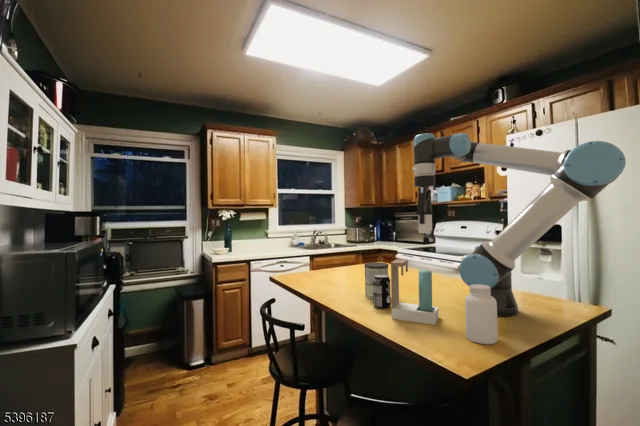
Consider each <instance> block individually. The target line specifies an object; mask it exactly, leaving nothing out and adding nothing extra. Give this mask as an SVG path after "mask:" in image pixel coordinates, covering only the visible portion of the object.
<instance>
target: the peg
mask: <svg viewBox="0 0 640 426" xmlns="http://www.w3.org/2000/svg"><path fill="white" fill-rule="evenodd" d="M432 273H433V271H432V270H427V269H421V270H418V305H419V311H425V312H432V306H433V274H432Z"/></svg>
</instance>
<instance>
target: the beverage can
mask: <svg viewBox="0 0 640 426" xmlns="http://www.w3.org/2000/svg"><path fill="white" fill-rule="evenodd" d="M372 302H373V306H374V307H375V308H377V309H380V310H381V309H389V308H390V307H391V306H392V297H391V277H390V274H388V275H386V274H376V275H374V278H373V299H372Z"/></svg>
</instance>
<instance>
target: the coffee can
mask: <svg viewBox="0 0 640 426" xmlns="http://www.w3.org/2000/svg"><path fill="white" fill-rule="evenodd" d="M376 274H386V275H389V263H387V262H378V261H376V262H374V261H373V262H366V263H364V288H365V295H364V296H365V298H367V299H371V300H373V278H374V275H376Z"/></svg>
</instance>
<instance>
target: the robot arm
mask: <svg viewBox="0 0 640 426" xmlns="http://www.w3.org/2000/svg"><path fill="white" fill-rule="evenodd" d="M412 149H413V167H412V171H413V174H414V178H413V179H414V180H413V181H414V187H417V190H418V191H417V193H418V195H417V208H416V211H415V215H416V216H418V217H417V220H418V222H417V223H418V224H417V225H418V227H417V228H418V234H428V232H433V215H434V214H435V212H434V211H433V203H432V190H431V189H430V187H434V186H436V176H435V175H436V159H444V158H451V159H454V160H457V161H458V162H462V163H473V164H479V165H485V166H491V167H492V166H493V167H499V168H503V169H511V170H516V171H523V172H529V173H535V174H542V175H547V176H550V177H549V178H550V182H549V184H548V185H547V186H546V187H545V188H544V189H543V190H541V192H539V194H537V196H536V197H535V198H533V200H531V201H530V203H529V204H528V205H526V207H525V208H524V209H522V211H520V212H519V213H518V214H517V215H516V217H514V218H513V219H512V220H511V221H510V222H509V223H508V224H507V225H506V226H505V227H504V228H503V229H502V230H501V231H500V232H499V233H498V234H497V235H496V236H495V237H494V238H492V240H491V241H483V242H482V243H481V244H480V245H477V246H475V247H474V251H473V252H472V253H470V254H468V255H467V256H465V257H464V258H463V259H462V260H461V261H460V264H459V267H458V270H459V277H460V278H461V280H462V281H463V283H464V284H465V285H466V286H468V287H469V286H470V285H473V284H481V285H487V286H490V288H491V292H490V293H491V295H490V296H492V297H494V298H495V299H496V302H497V317H499V316H500V317H511V316H516V315H518V313H519V306H518V303H517V300H516V298H515V295H514V293H513V289H512V286H513V285H512V271H513V270H514V269H515V268H516V262H515V261H516V260H517V259H518V258H519V257H521V255H523V254H524V253H525V252H526V251H527V250H528V249H529V248H530V247H531V246H533V244H534V243H536V242H537V241H538V240H539V239H540V238H541V237H543V236H544V235H545V234H546V233H547V232H548V231H549V230H550V229H551V228H552V227H554V226H555V225H556V224H557V223H558V222H559V221H560V220H561V219H562V218H563V217H565V216H566V215H567V214H568V213H569V212H570V211H571V210H572V209H574V208H575V207H576V206H577V205H578V204H579V203H580V202H586V201H592V200H593V199H594V198H596V197H597V196H598V195H599V194H600V192H602V191H603V190H604V189H606V187H608V186H609V185H610V184H612V183H613V182H615V181H616V180H617V179H618V177H620V175H621V174H622V173H623V171H624V170H625V168H626V164H627V163H626V156H625V154H624V152H623V151H622V150H621V149H620V148H619V147H618V146H616V145H615V144H613V143H611V142H608V141H602V140H594V141H593V140H592V141H587V142H584V143H581V144H579V145H576V147H574V148H573V149H565V150H564V151H561V152H560V151H551V150H544V149H543V150H542V149H534V148H525V147H520V146H519V147H518V146H508V145H503V144H502V145H501V144H491V143H485V142H484V143H483V142H476V141H475V142H474V141H471V138H470V136H469V134H468V133H466V132H462V133H454V134H450V135H444V136H441V137H435V135H434V134H433V133H430V132H427V133H420V134H417V135H415V136H414V138H413V148H412Z"/></svg>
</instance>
